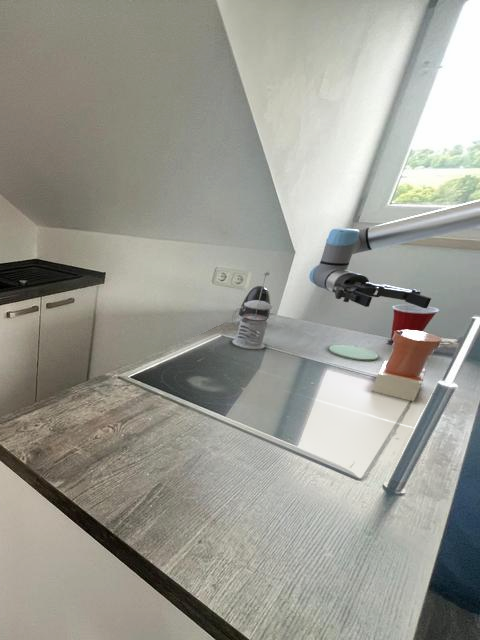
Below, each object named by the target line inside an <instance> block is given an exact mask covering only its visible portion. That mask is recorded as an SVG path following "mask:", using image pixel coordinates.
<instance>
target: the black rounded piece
mask: <svg viewBox="0 0 480 640" xmlns="http://www.w3.org/2000/svg"><path fill="white" fill-rule="evenodd" d="M262 286H263V285H256V286H253V288H252V289H251V290H249V292H247V294H246V296H245V298H244V299H243V301H242V303H241V305H240V307H243V306H244V307H243V308H244V309H245V307H246V306H245V305H244V303H246V302H249V301H253V300H259V298H260V300H261V301H265V302H267V303H269V304H270V305H271V295H270V293H269V290H268V288H267V287H265V286H263V289H262ZM261 290H262V293H261ZM260 294H261V297H260ZM240 307H239V308H240ZM243 308H240V309H238V319H239V321H242V319H243V318H244V317H243V315H245V314H256V315H261V316H265V317H267V318H268V319H270V317H271V309H269V310H258V309H252V308H248V307H246V309H245V311H244V310H243ZM242 310H243V311H242ZM256 310H257V313H256ZM268 319H267V320H268ZM267 320H266V322H267ZM247 323H256V324H258V325H261V324H259V323H258V322H256V321H250V322H247Z"/></svg>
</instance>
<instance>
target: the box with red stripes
mask: <svg viewBox="0 0 480 640" xmlns="http://www.w3.org/2000/svg"><path fill="white" fill-rule="evenodd" d="M387 362H388V360H384V361H383V363H382V365H381V367H380V369H379V371H378V373H377V376H376V378H375V380H374V383H373V385H372V388H371V390H370V391H372V392H375V393H379V394H383V395H386V396H390V397H393V398H399V399H402V400H406V401H411V402H415V400H416V397H417V395H418V394H419V391H420V390H421V387H422V385H423V382H424V377H425V374H426V368H423V370H422V372H421V374H420V376H418V377H408V376H402V375H398V374H395V373H392V372H389V371H388V370H386V369H385V367H386V365H387Z"/></svg>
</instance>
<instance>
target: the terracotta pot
mask: <svg viewBox="0 0 480 640" xmlns="http://www.w3.org/2000/svg"><path fill="white" fill-rule="evenodd" d="M391 341H392V342H393V343H392V345H391V348H392V350H391V353H390V355H389V357H388V359H387V361H388V362H387V365H386V367H385V369H386V370H388V371H389V372H392V373H395V374H398V375H402V376H408V377H418V376H420V374H421V372H422V370H423V369H425V366H426V363H427V361H428V359H429V357H430V356H432V355H433V353H434V351H435V350H436V349H439V348H440V346H441V343H442V341H443V339H442V338H441V337H440V336H438V335H435V334H432V333H428V332H424V331H423V332H419V331H412V330H398V331H395V333H394V336H393V338H392V340H391Z"/></svg>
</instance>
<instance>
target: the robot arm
mask: <svg viewBox="0 0 480 640" xmlns="http://www.w3.org/2000/svg"><path fill="white" fill-rule="evenodd" d="M476 228H480V199H477V200H472V201H469V202H466V203H461V204H457V205H453V206H450V207H446V208H441V209H438V210H434V211H433V210H432V211H430V212H426V213H422V214H421V213H420V214H418V215H414V216H410V217H405V218H401V219H397V220H394V221H390V222H386V223H381V224H378V225H377V224H376V225H373V226H370V227H366V228H362V229H357V228H347V227H346V228H345V227H344V228H343V227H341V228H340V227H339V228H332V229H331V230H330V231H329V233H328V236H327V238H326V241H325V245H324V248H323V251H322V255H321V259H320V261H319V264H317V265H316V266H314V267H313V268H312V269H311V270H310V272H309V276H308V278H309V281H310V282H311V283H312V284H313V285H315V286H316V287H318V288H321V289H324V290H327V291H329V292H332V293H334V296H335V299H336V300H341V299H342V298H343V303H349V301H351V302H353V303H355V304H358V305H361V306H362V307H365V308H369V307H370V305H371V302H372V299H373V298H380V297H382V298H383V297H384V298H389V299H395V300H401V301H404V302H405V303H408V304H410V305H416V306H419V307H422V308H427V307H428V306H430V305H429V304H430V303H431V301H432V297H429V296H425V295H422V294H421V293H422V291H420V290H417V289H415V288H413V289H408V288H402V287H398V286H393V285H389V284H385V283H382V284H376V283H373V282H370V280H369V278H368V277H367V276H366V275H364V274H360V273H357V272H354V271H351V270H348V267H349V265H350V261H351V258H352V256H353V255H355V254H359V253H364V252H368V251H369V252H370V251H373V250H377V249H382V248H386V247H387V248H388V247H392V246H396V245H400V244H405V243H411V242H416V241H420V240H424V239H429V238H434V237H438V236H439V237H440V236H444V235H449V234H454V233H458V232H462V231H463V232H464V231H466V230H472V229H476Z"/></svg>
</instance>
